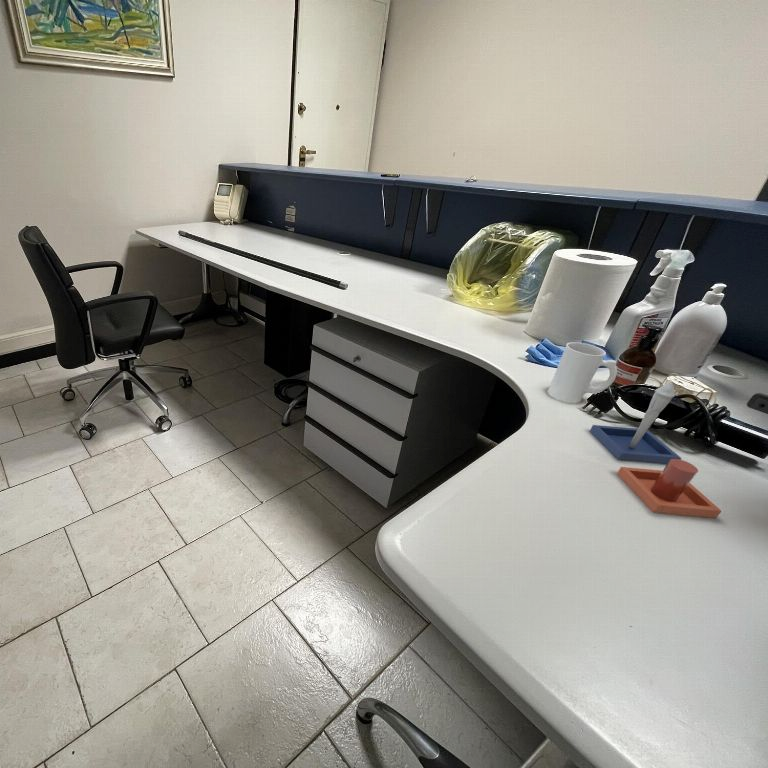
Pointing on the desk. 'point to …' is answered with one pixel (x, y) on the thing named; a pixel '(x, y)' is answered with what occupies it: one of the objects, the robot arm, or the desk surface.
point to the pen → (654, 410)
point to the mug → (579, 372)
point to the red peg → (673, 480)
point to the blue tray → (645, 450)
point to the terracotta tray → (686, 504)
